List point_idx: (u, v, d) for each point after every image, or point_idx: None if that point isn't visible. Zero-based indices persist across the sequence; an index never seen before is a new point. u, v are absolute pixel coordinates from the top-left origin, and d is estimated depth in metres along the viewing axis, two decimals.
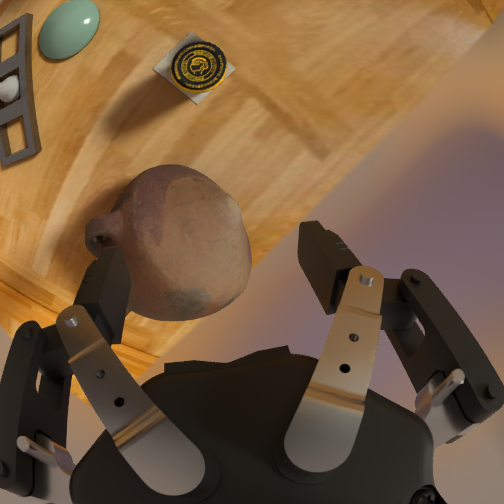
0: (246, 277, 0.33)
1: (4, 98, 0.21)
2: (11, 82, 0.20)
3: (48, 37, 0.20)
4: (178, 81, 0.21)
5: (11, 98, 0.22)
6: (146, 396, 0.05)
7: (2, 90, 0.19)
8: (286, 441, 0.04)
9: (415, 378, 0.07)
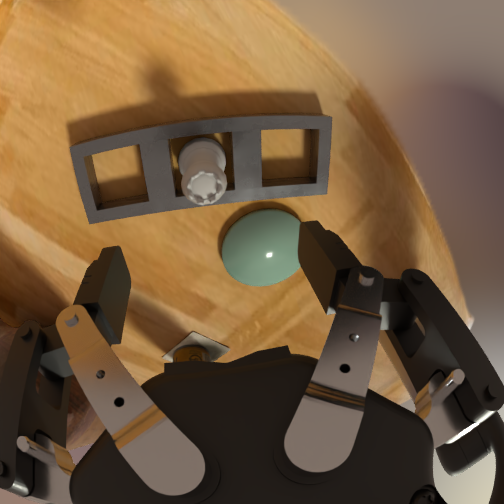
0: None
1: (186, 169, 0.22)
2: None
3: (263, 226, 0.29)
4: None
5: (182, 173, 0.23)
6: (146, 396, 0.05)
7: None
8: (286, 441, 0.04)
9: (415, 378, 0.07)
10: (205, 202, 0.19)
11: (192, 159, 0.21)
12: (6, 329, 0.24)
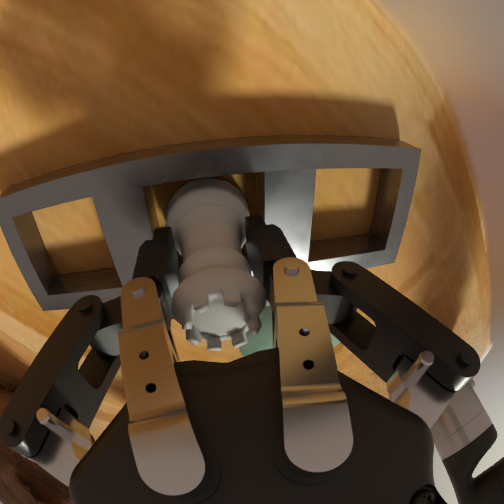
0: None
1: (179, 246, 0.12)
2: None
3: None
4: None
5: None
6: (179, 392, 0.05)
7: None
8: (286, 441, 0.04)
9: (377, 367, 0.08)
10: (223, 339, 0.10)
11: (190, 233, 0.11)
12: None
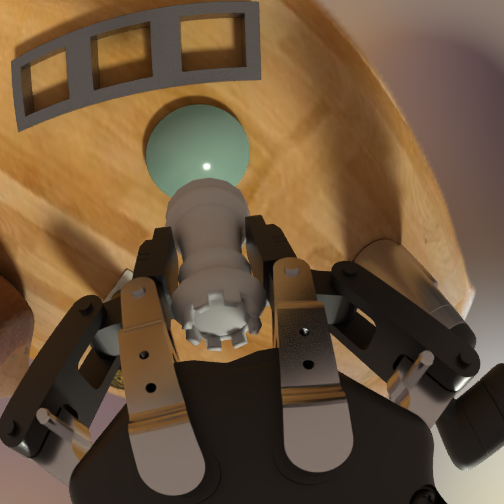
0: None
1: (179, 246, 0.12)
2: None
3: (191, 122, 0.23)
4: None
5: None
6: (179, 392, 0.05)
7: None
8: (286, 441, 0.04)
9: (377, 367, 0.08)
10: (223, 339, 0.10)
11: (190, 233, 0.11)
12: None
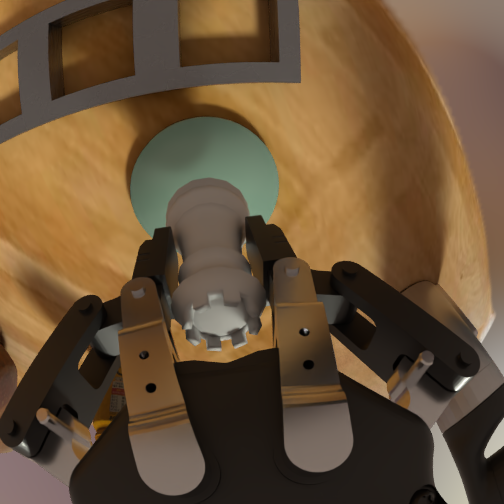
0: None
1: (179, 246, 0.12)
2: None
3: (194, 145, 0.16)
4: None
5: None
6: (179, 392, 0.05)
7: None
8: (286, 441, 0.04)
9: (377, 367, 0.08)
10: (223, 339, 0.09)
11: (190, 232, 0.11)
12: None
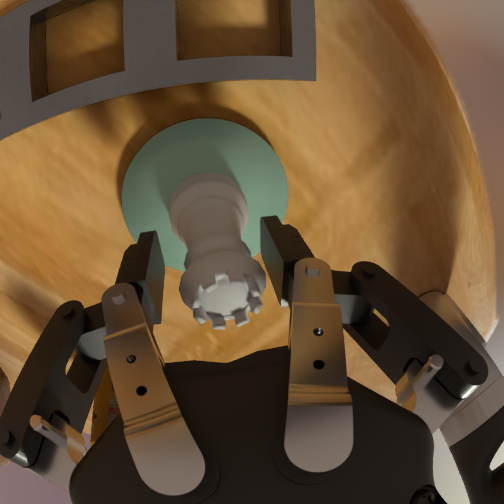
0: None
1: (183, 235, 0.13)
2: None
3: (193, 150, 0.14)
4: None
5: (177, 235, 0.14)
6: (170, 392, 0.05)
7: None
8: (286, 441, 0.04)
9: (388, 369, 0.08)
10: None
11: (195, 222, 0.12)
12: None
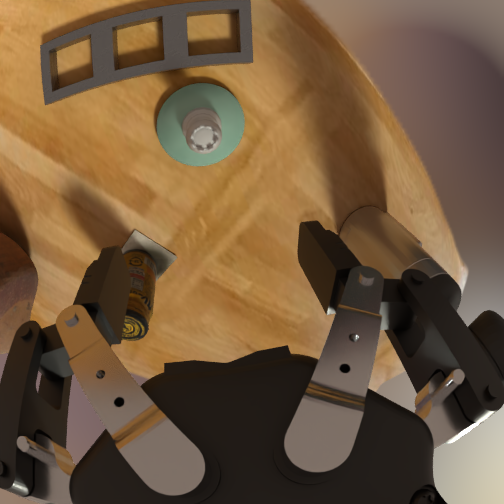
0: None
1: None
2: None
3: (195, 98, 0.26)
4: None
5: (185, 135, 0.27)
6: (146, 396, 0.05)
7: None
8: (286, 441, 0.04)
9: (415, 378, 0.07)
10: (204, 151, 0.23)
11: (194, 121, 0.24)
12: None
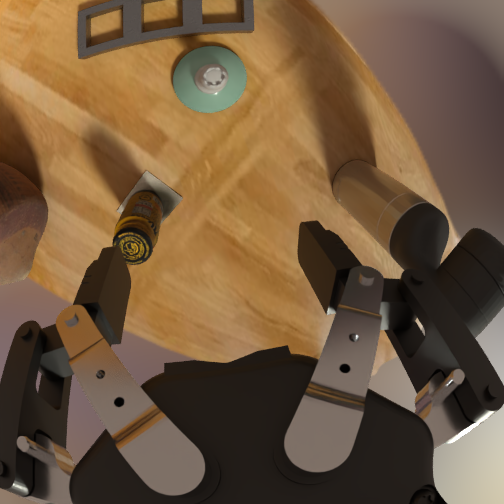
0: None
1: None
2: None
3: (206, 57, 0.29)
4: (116, 235, 0.30)
5: (197, 84, 0.30)
6: (146, 396, 0.05)
7: None
8: (286, 441, 0.04)
9: (415, 378, 0.07)
10: (214, 87, 0.26)
11: None
12: None
